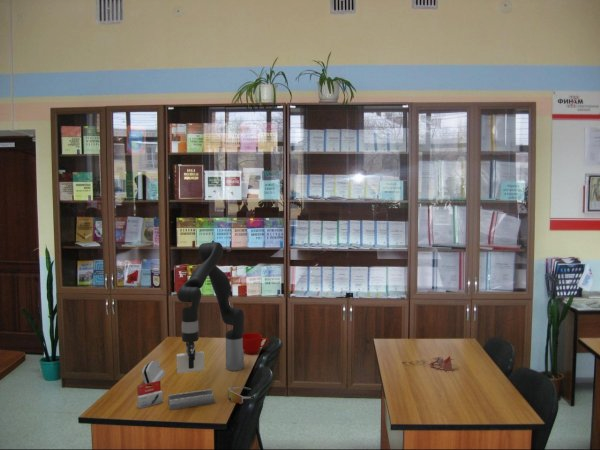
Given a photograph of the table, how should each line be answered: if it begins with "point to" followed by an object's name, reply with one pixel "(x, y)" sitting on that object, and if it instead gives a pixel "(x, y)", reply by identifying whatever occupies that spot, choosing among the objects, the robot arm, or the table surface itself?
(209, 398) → the track
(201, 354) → the door panel
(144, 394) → the ink cartridge box
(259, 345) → the ceramic cup
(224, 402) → the table surface
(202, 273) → the robot arm
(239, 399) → the sunglasses
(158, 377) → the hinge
